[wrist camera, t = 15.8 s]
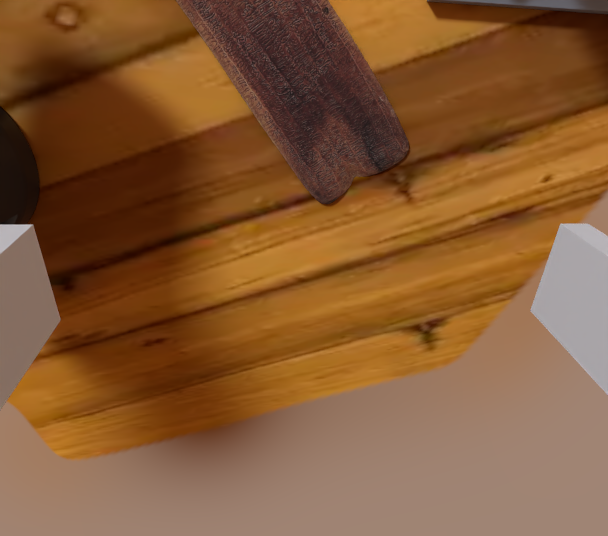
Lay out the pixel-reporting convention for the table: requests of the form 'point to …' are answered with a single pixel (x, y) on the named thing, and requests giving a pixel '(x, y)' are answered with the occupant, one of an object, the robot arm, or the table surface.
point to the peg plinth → (541, 4)
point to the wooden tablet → (304, 87)
